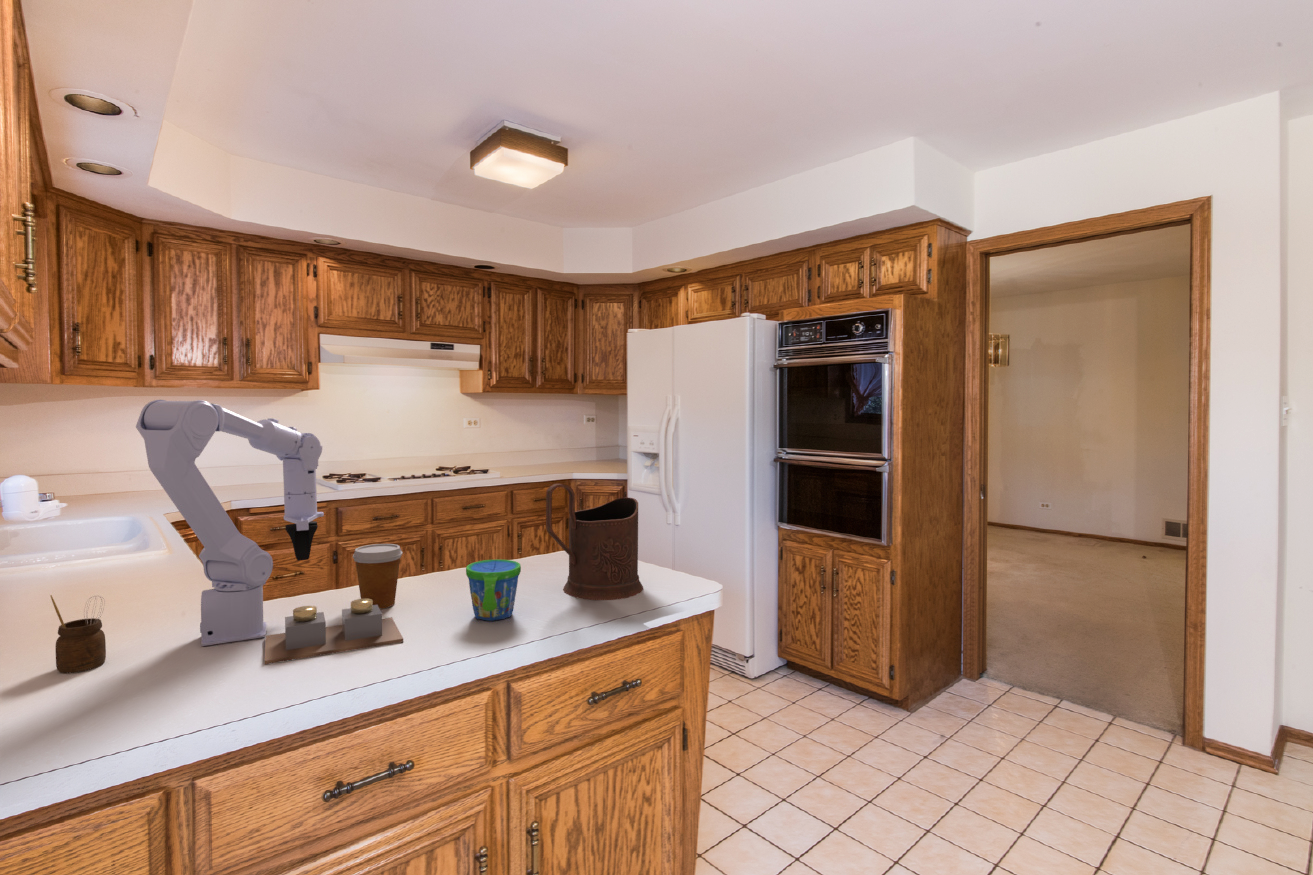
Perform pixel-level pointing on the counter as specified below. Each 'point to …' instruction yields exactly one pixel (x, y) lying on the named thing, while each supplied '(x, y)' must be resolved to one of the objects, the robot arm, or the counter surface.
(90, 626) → the utensil holder
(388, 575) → the disposable coffee cup
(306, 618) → the left plunger
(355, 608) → the brass round knob
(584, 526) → the cup holder
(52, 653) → the counter surface
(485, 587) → the snack cup
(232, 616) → the robot arm
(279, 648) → the walnut board
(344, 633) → the twin gray blocks
